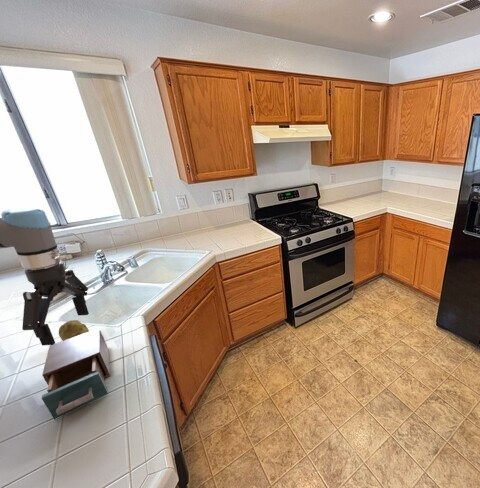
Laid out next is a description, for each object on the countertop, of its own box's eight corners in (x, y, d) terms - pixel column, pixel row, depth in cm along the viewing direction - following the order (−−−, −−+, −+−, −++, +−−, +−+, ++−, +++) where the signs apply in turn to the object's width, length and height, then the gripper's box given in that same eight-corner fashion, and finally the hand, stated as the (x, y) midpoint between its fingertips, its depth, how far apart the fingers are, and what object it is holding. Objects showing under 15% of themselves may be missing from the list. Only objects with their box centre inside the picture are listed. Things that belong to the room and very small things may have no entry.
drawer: (108, 404, 73) (98, 383, 70) (52, 432, 66) (38, 410, 63) (106, 365, 87) (98, 346, 84) (59, 384, 80) (48, 365, 77)
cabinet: (110, 375, 83) (99, 352, 80) (56, 399, 76) (42, 374, 73) (108, 349, 95) (99, 327, 91) (61, 368, 87) (49, 345, 84)
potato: (64, 357, 92) (55, 338, 89) (63, 340, 101) (55, 323, 98) (94, 344, 98) (87, 326, 95) (91, 329, 106) (83, 313, 103)
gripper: (16, 287, 60) (47, 358, 68) (90, 247, 83) (107, 304, 91) (-23, 288, 59) (13, 361, 67) (63, 247, 82) (82, 305, 90)
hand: (67, 328), depth 79 cm, fingers open, 13 cm apart
